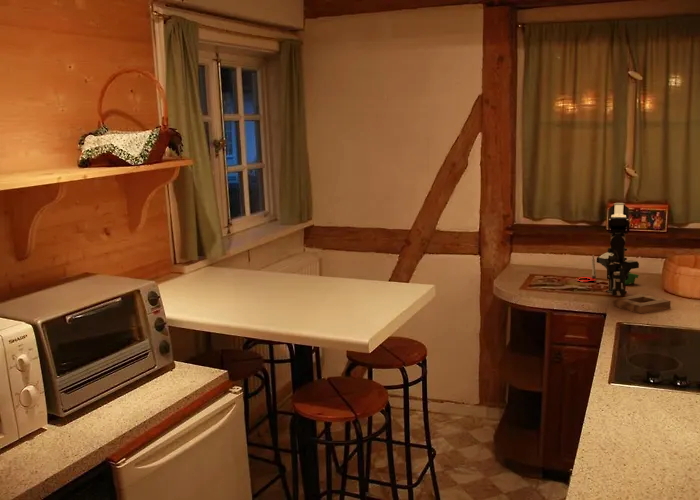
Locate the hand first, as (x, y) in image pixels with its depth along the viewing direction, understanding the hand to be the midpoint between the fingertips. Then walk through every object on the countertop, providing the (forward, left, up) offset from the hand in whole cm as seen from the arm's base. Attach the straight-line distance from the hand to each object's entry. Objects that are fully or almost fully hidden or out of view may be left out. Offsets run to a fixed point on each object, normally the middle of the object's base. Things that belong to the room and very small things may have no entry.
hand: (616, 281), depth 284 cm
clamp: (-22, +28, -8) cm, 36 cm away
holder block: (+14, 0, -8) cm, 16 cm away
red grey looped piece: (-35, +15, -8) cm, 39 cm away
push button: (0, 0, -6) cm, 6 cm away
